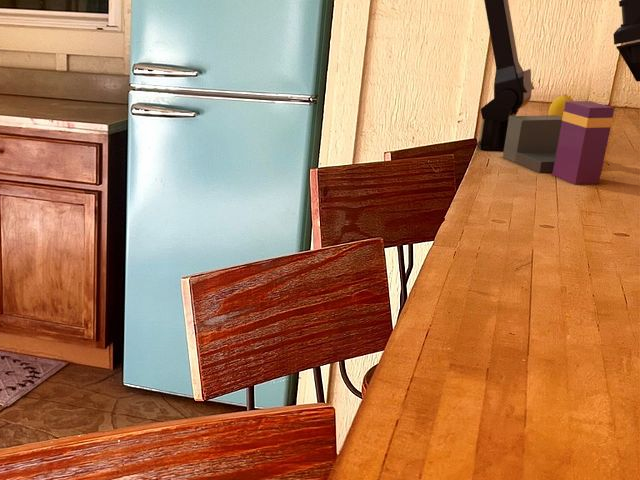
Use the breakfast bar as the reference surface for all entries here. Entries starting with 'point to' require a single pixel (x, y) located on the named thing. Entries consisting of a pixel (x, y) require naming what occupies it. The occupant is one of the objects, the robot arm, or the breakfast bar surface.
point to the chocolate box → (582, 142)
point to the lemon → (559, 105)
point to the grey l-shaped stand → (533, 141)
